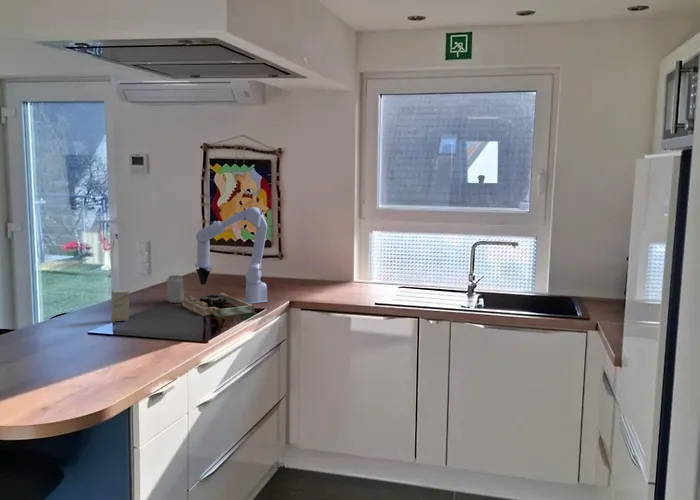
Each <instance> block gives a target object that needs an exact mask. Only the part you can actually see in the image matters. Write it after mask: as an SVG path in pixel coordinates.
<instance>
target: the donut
mask: <svg viewBox="0 0 700 500" xmlns="http://www.w3.org/2000/svg"><path fill="white" fill-rule="evenodd" d="M202 301H203V302H205V303H207V307H216V308H217V307H222V306H223V305H225V304H226V303H227V302H226V298H225V297H224V296H223V295H220V294H215V293H214V294H213V293H212V294H205V295H202V296H201V297H200V299H199V302H202Z"/></svg>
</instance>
